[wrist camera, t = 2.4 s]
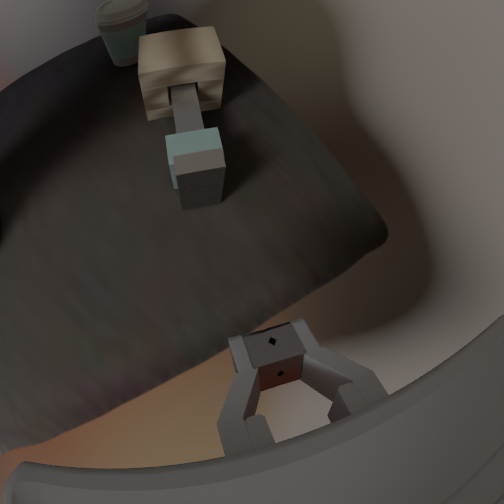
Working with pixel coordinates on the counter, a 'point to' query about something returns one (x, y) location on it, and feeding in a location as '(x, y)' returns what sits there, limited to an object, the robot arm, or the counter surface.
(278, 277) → the counter surface
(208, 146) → the pale teal block
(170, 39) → the block
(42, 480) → the robot arm
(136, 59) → the coffee cup
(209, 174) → the grey elongated piece
